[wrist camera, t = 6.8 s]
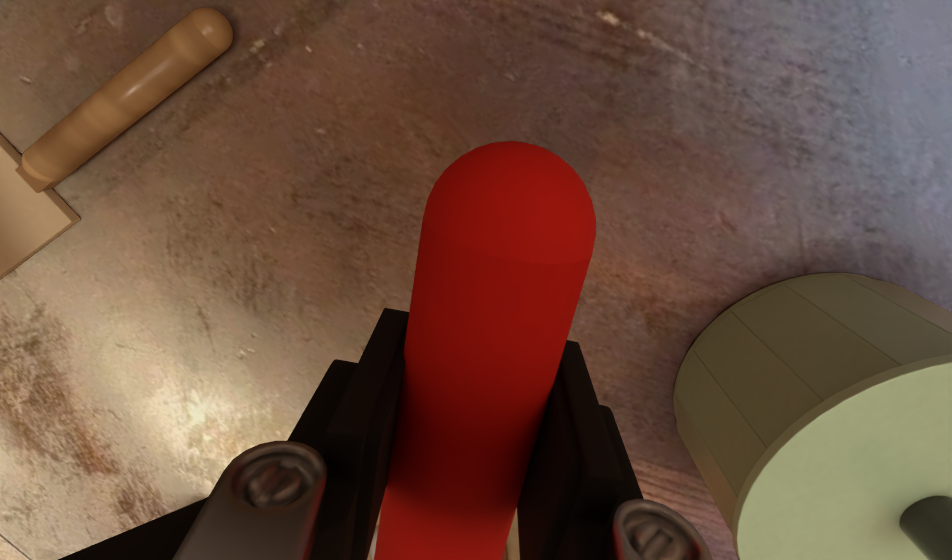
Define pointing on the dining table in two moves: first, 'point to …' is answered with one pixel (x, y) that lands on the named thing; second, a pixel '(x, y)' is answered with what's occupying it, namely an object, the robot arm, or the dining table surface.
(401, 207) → the dining table surface
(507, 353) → the chili pepper
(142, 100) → the spatula
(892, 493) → the pot lid
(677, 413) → the pot
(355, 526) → the robot arm
